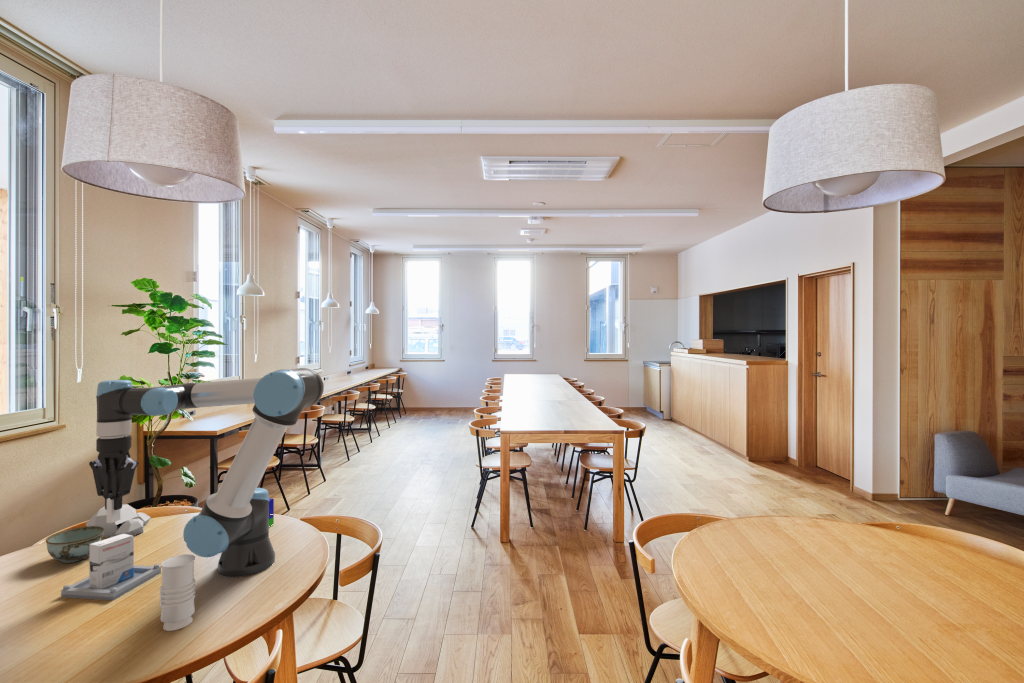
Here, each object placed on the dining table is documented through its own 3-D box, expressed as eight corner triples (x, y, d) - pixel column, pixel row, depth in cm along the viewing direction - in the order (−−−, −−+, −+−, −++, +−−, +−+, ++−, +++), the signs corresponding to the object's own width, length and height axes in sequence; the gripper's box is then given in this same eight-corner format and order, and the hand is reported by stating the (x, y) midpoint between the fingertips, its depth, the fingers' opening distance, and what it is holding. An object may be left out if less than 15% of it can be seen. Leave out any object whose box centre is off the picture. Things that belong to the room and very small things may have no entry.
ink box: (123, 573, 138) (124, 532, 138) (134, 576, 136) (134, 534, 136) (88, 587, 130) (88, 543, 130) (98, 591, 128) (99, 546, 128)
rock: (150, 519, 183) (151, 493, 183) (150, 535, 167) (151, 508, 167) (87, 530, 172) (87, 503, 172) (80, 549, 156) (81, 519, 156)
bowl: (32, 567, 143) (33, 540, 143) (82, 548, 156) (82, 524, 157) (67, 572, 140) (67, 545, 140) (115, 553, 153) (115, 527, 153)
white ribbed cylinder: (157, 623, 115) (157, 560, 115) (191, 611, 120) (191, 551, 120) (162, 635, 110) (162, 570, 110) (198, 623, 115) (198, 560, 115)
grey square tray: (160, 573, 140) (160, 563, 140) (113, 600, 125) (113, 590, 125) (113, 571, 141) (113, 561, 141) (61, 597, 126) (61, 587, 126)
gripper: (147, 434, 136) (146, 517, 136) (105, 432, 137) (104, 515, 137) (123, 439, 129) (122, 527, 129) (79, 438, 130) (78, 525, 130)
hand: (113, 521), depth 133 cm, fingers closed
